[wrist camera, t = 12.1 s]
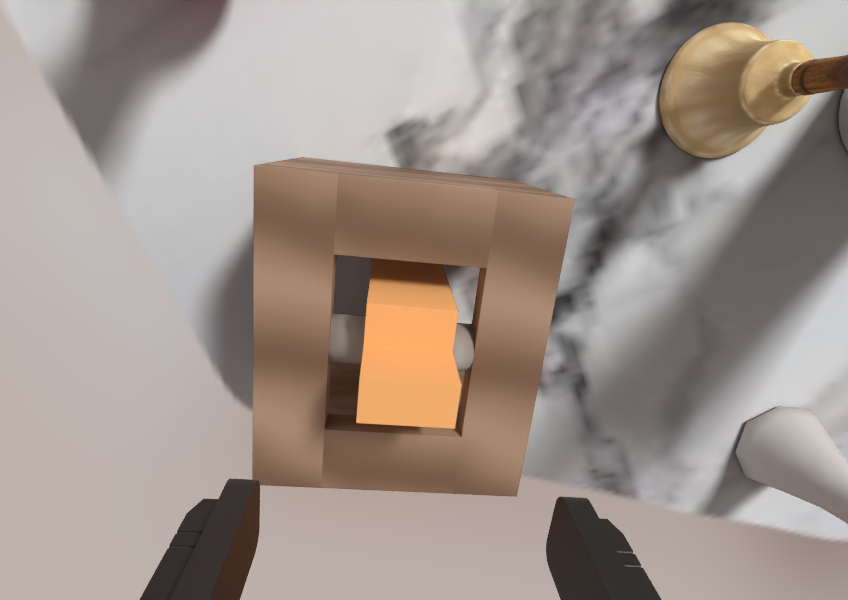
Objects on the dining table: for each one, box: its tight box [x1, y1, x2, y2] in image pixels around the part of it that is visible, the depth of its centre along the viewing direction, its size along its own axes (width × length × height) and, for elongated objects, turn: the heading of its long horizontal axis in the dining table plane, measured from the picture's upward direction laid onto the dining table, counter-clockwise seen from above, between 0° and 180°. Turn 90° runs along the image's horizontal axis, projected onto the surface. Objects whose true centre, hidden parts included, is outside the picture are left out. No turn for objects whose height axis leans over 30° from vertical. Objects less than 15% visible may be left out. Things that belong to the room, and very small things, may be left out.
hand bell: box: [659, 22, 848, 158], centre depth 25 cm, size 8×8×16 cm
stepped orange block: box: [356, 258, 462, 429], centre depth 26 cm, size 6×4×14 cm, turn 174°
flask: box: [735, 406, 848, 524], centre depth 37 cm, size 7×7×10 cm
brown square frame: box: [253, 157, 575, 496], centre depth 29 cm, size 16×14×12 cm
